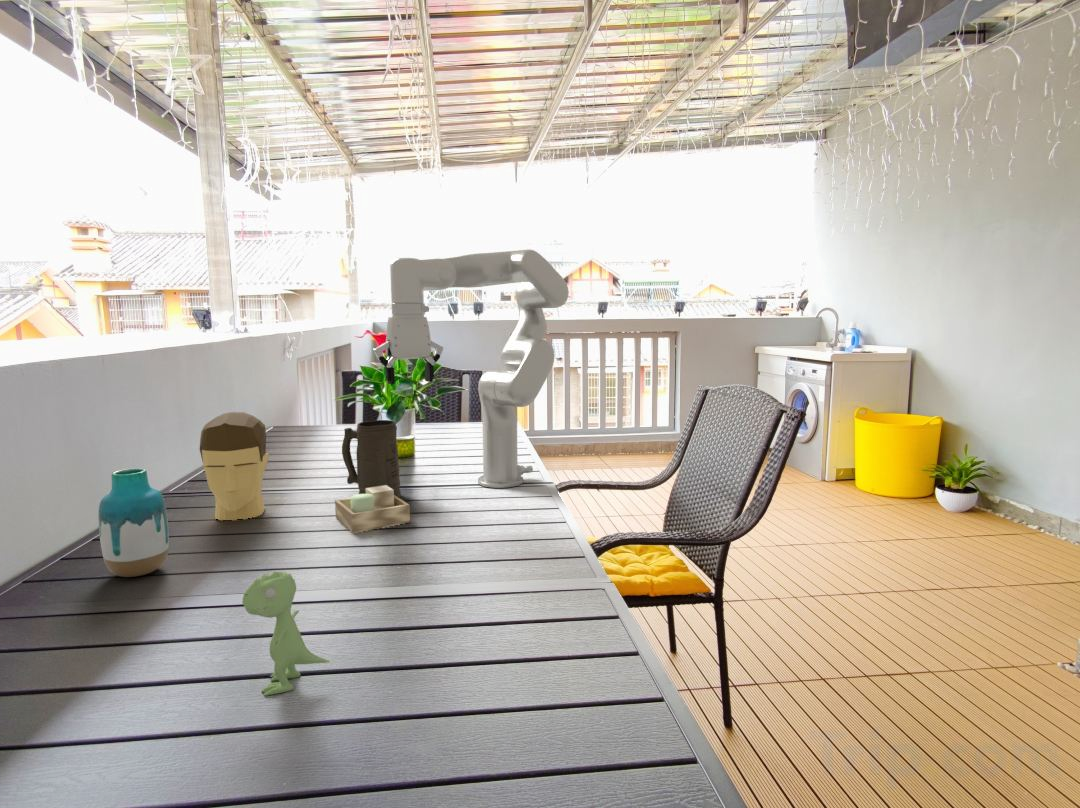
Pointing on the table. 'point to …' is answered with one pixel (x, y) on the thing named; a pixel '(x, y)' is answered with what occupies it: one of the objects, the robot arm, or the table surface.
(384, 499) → the cream block
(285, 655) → the toy
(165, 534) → the vase
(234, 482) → the head
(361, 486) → the beer stein
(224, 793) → the table surface
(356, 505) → the green cylinder
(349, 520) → the box
